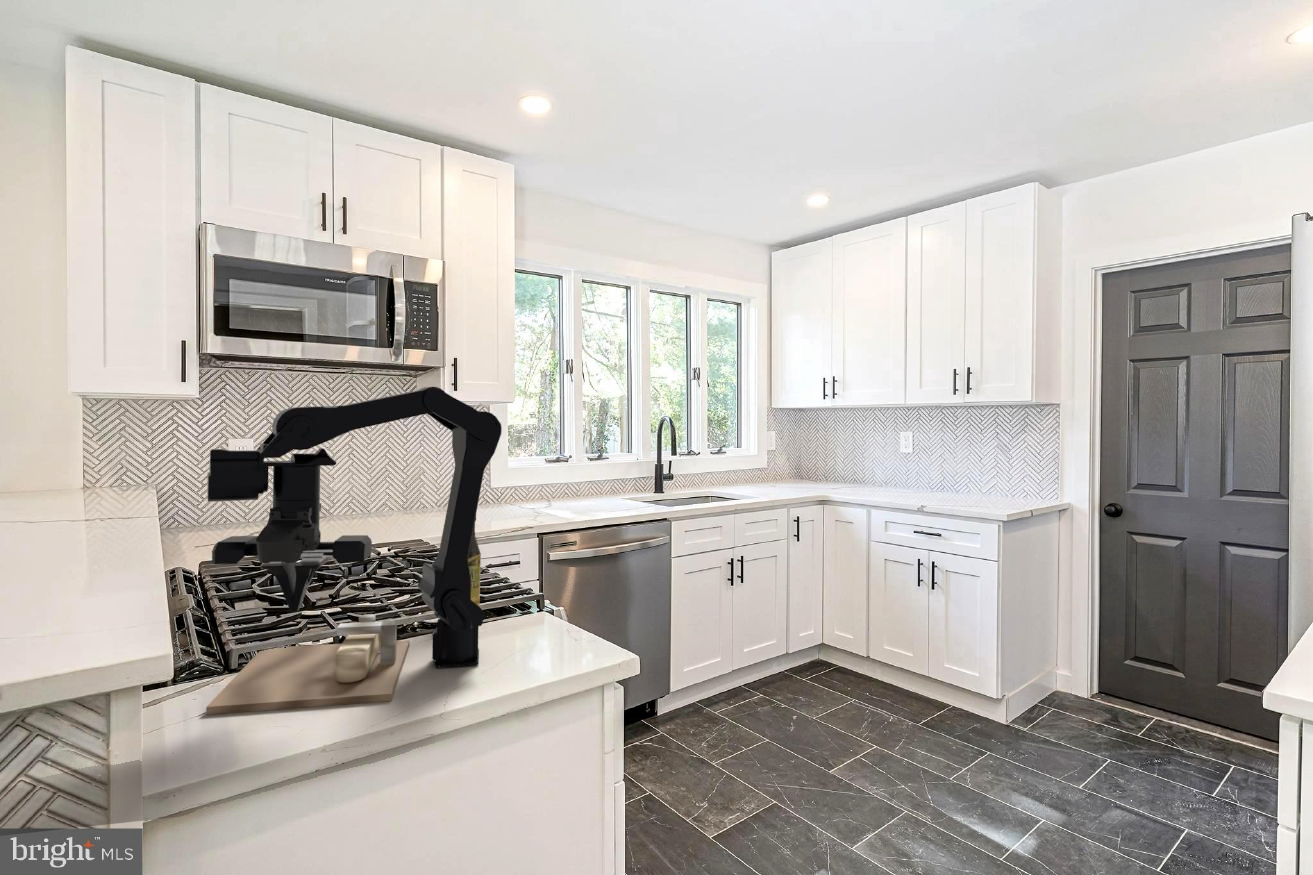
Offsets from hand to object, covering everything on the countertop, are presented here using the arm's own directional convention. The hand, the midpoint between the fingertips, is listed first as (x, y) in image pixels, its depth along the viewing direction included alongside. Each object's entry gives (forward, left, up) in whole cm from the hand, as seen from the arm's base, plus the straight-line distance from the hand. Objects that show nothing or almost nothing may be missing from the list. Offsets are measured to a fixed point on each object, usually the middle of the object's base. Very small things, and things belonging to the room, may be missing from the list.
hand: (294, 611), depth 92 cm
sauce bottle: (-21, -32, -11) cm, 40 cm away
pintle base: (-2, -5, -11) cm, 12 cm away
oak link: (-7, -6, -10) cm, 14 cm away
